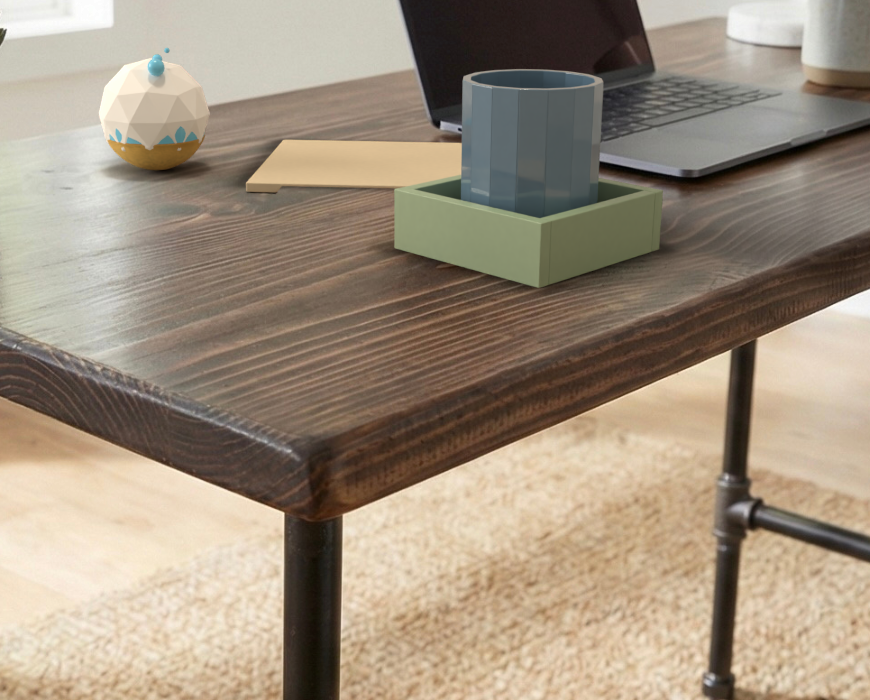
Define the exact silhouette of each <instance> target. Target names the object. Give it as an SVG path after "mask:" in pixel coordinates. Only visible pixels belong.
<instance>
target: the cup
mask: <svg viewBox="0 0 870 700" xmlns="http://www.w3.org/2000/svg"><path fill="white" fill-rule="evenodd" d="M461 92H462V96H461V97H462V99H461V143H462V155H461V200H463V201H467V202H471V203H476V204H480V205H484V206H489V207H493V208H497V209H502V210H506V211H510V212H515V213H519V214H523V215H528V216H532V217H536V218H543V217H547V216H550V215H554V214H558V213H562V212H565V211H569V210H573V209H577V208H580V207H584V206H588V205H592V204H595V203H597V199H598V179H599V178H600V157H601V156H600V155H601V140H602V121H603V119H602V118H603V104H604V103H603V100H604V80H603V78H601V77H598V76H596V75H592V74H589V73H583V72H575V71H568V70H554V69H533V68H532V69H529V68H527V69H526V68H516V69H515V68H513V69H494V70H485V71H475V72H473V73H469V74H466V75H463V78H462V91H461Z"/></svg>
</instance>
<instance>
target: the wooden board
mask: <svg viewBox="0 0 870 700" xmlns="http://www.w3.org/2000/svg"><path fill="white" fill-rule="evenodd" d="M461 155H462V142H437V141H436V142H430V141H383V140H382V141H381V140H379V141H377V140H375V141H374V140H328V139H327V140H326V139H325V140H324V139H282V141H281V142H280V143H279V144H278V145H277V147H276V148H275V149H274V150H273V152H272V153H271V154H270V155H269V156H268V157H267V158H266V159H265V160H264V161H263V163H262V164H261V165H260V166H259V167H258V168H257V170H256V171H255V172H254V173H253V174H252V175H251V176H250V177H249V178H248V180H247V181H246V182H245V191H246V193H271V194H272V193H273V194H274V193H275V194H277V193H278V192H279V191H280V190H281V188H282V187H302V188H303V187H309V188H310V187H311V188H355V189H358V188H360V189H397V188H402V187H406V186H411V185H416V184H420V183H425V182H429V181H434V180H439V179H443V178H448V177H452V176H457V175H461Z"/></svg>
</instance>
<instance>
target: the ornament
mask: <svg viewBox="0 0 870 700" xmlns="http://www.w3.org/2000/svg"><path fill="white" fill-rule="evenodd" d="M163 52H164V53H165V54H169V53H170V48H169V47H164V49H163ZM210 115H211V112H210V110H209V106H208V103H207V99H206V95H205V92H204V89H203V86H202V85H201V84H200V83H199V82H198V81H197V80H196V79H195V78H194V77H193V76H192V75H191V74H190V73H189V72H188V71H187V70H186V69H185V68H184V67H183V66H182V64H177V63H173V62H169V61H165V60H163V57H162V56H161V54H159V53H156V54H154V55H153V56H152V57H149V58H145V59H141V60H139V61H135V62H130V63H128V64H127V63H126V64H123V66H122V67H121V68H120V70H119V71H118V72H117V73H116V74H114V76H113V77H112V78H111V79H110V80H109V82H108V83H106V84H105V86H104V87H103V92H102V96H101V101H100V106H99V110H98V117H99V121H100V125H101V128H102V131H103V135H104V139H105V142H106V143H107V144H108V145H109V147H110V148H111V149H112V151H113V152H114V153H115V154H116V155H117V156H118V157H119V158H121V159H122V160H124V161H125V162H127V163H128V164H130V165H132V166H134V167H137V168H139V169H142V170H147V171H165V170H170V169H173V168H176V167H178V166H180V165H182V164H184V163H185V162H187V161H188V160H189V159H190V158H192V157H193V156H194V155H195V154H196V152H197V151H198V150H199V149H200V147H201V145H202V144H203V142H204V140H205V137H206V132H207V126H208V123H209V118H210Z"/></svg>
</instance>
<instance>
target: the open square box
mask: <svg viewBox="0 0 870 700" xmlns="http://www.w3.org/2000/svg"><path fill="white" fill-rule="evenodd" d="M393 191H394V192H393V196H394V197H393V198H394V199H393V201H394V202H393V203H394V210H393V211H394V212H393V213H394V214H393V215H394V216H393V217H394V221H393V223H394V225H393V226H394V233H393V234H394V239H393V240H394V245H393V246H394V249H396V250H399V251H403V252H407V253H411V254H415V255H418V256H422V257H425V258H428V259H432V260H437V261H440V262H443V263H447V264H450V265H454V266H458V267H461V268H465V269H468V270H473V271H475V272H480V273H483V274H488V275H490V276H494V277H498V278H501V279H504V280H509V281H512V282H516V283H518V284H519V283H520V284H524V285H526V286H531V287H534V288H537V289H540V288H543V287H546V286H547V287H548V286H549V285H553V284H556V283H559V282H562V281H566V280H568V279H571V278H574V277H578V276H580V275H583V274H587V273H590V272H592V271H593V272H594V271H596V270H599V269H603V268H605V267H608V266H612V265H614V264H617V263H621V262H624V261H627V260H630V259H633V258H636V257H639V256H642V255H646V254H648V253H651V252H655V251H658V250H660V243H661V242H660V241H661V228H662V214H663V199H664V190H662V189H658V188H653V187H648V186H642V185H638V184H634V183H629V182H628V183H627V182H622V181H618V180H613V179H607V178H603V177H599V179H598V199H597V203H595V204H592V205H588V206H584V207H580V208H577V209H573V210H569V211H565V212H562V213H558V214H554V215H550V216H547V217H543V218H536V217H532V216H528V215H523V214H519V213H515V212H510V211H506V210H502V209H497V208H493V207H489V206H484V205H480V204H476V203H471V202H467V201H463V200H461V175H457V176H452V177H448V178H443V179H439V180H434V181H429V182H425V183H420V184H416V185H411V186H406V187H402V188H393Z"/></svg>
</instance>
